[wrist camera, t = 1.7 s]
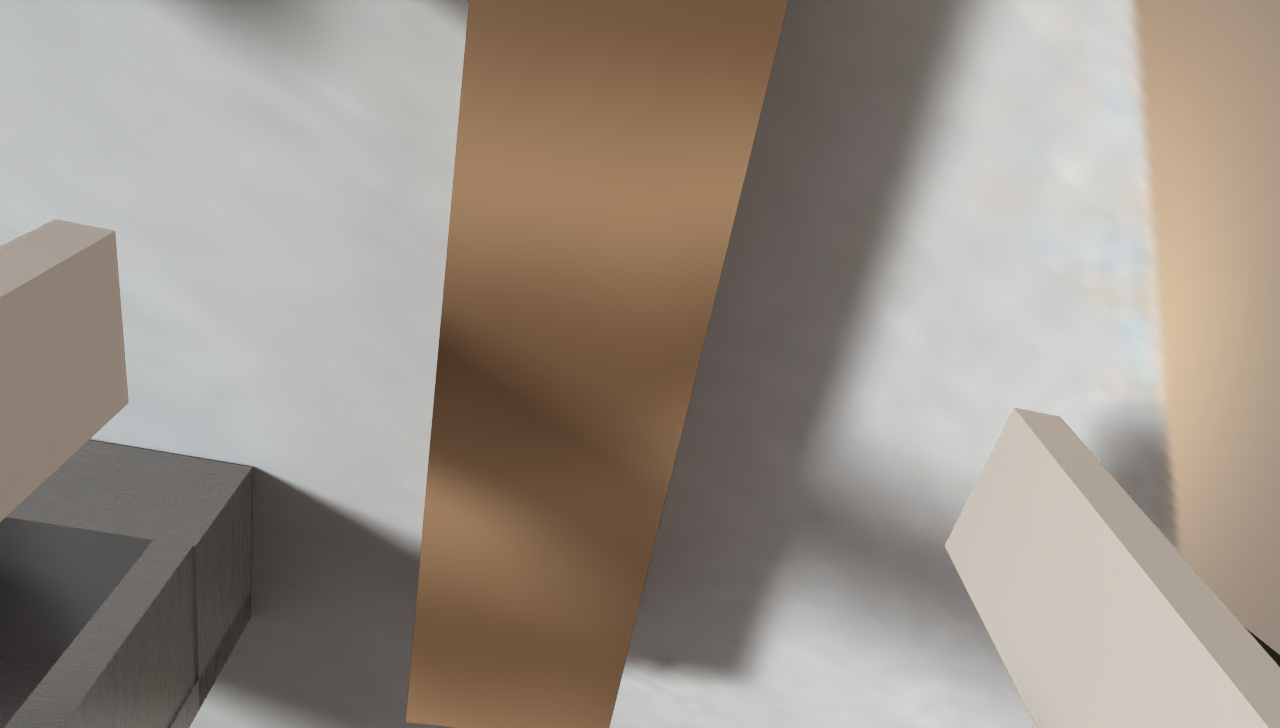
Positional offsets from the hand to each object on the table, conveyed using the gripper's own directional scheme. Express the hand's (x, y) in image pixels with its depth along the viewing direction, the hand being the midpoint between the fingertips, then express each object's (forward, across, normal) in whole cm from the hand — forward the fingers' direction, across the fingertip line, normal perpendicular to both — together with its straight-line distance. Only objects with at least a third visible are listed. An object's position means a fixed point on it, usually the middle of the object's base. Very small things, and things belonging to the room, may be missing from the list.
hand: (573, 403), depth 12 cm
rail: (+7, 0, +1) cm, 7 cm away
